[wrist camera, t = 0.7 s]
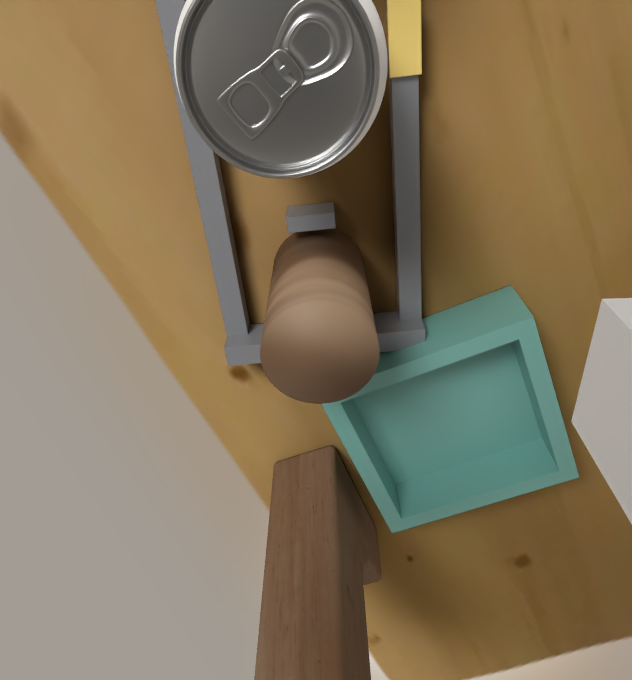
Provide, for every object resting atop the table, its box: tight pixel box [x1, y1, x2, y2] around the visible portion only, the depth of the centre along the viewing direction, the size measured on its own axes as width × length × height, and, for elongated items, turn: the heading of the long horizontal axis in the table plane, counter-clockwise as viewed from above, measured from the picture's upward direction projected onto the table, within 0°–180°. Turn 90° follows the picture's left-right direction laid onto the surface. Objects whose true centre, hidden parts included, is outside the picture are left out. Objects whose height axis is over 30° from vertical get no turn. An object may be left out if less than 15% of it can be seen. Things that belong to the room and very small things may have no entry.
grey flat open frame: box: [155, 0, 425, 366], centre depth 25 cm, size 30×11×2 cm, turn 6°
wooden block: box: [254, 446, 381, 680], centre depth 32 cm, size 9×4×18 cm, turn 22°
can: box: [174, 0, 387, 178], centre depth 21 cm, size 6×6×12 cm
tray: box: [321, 285, 579, 533], centre depth 34 cm, size 12×12×4 cm
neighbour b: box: [260, 228, 380, 404], centre depth 28 cm, size 5×5×9 cm
